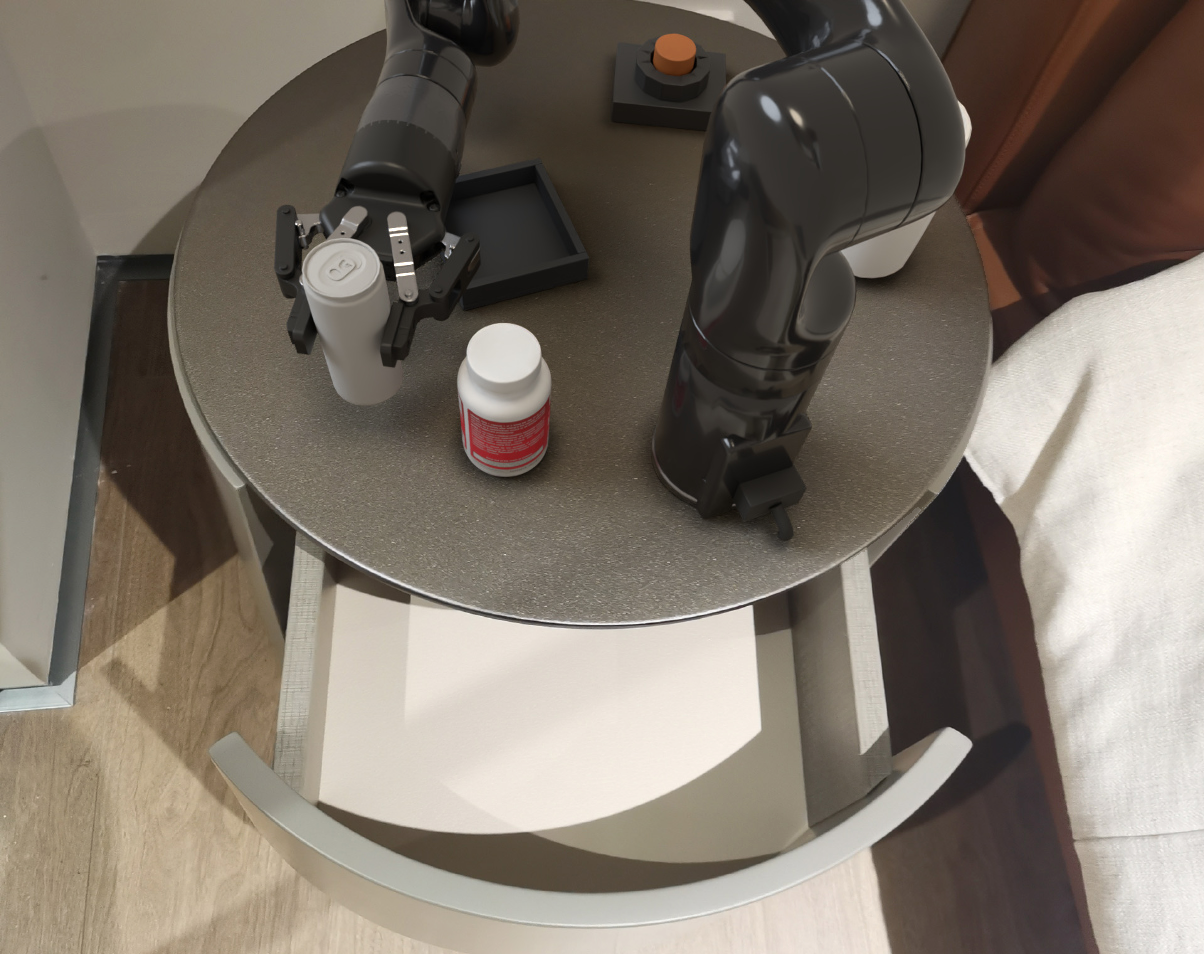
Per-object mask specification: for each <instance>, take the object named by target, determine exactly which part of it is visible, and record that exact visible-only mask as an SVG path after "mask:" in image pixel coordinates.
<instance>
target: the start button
mask: <svg viewBox="0 0 1204 954" xmlns="http://www.w3.org/2000/svg"><path fill="white" fill-rule="evenodd" d="M663 35H664V36H663ZM663 35H661V36H662V37H660V38H659V39H658V40H657V41H656V44H655V51H654V57H653V64H654V67H655V68H656V70H658V71H660V72H662V73H664V74H666V75H671V76H683V75H686V74H689V73H690V72H691V71H692V69H693V65H694V60H695V55H696V46H695V44H694V42H695V41H693V40H692V39H691V38H689V37H687V36H686V35H683V34H679V33H667V34H663Z"/></svg>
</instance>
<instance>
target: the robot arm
mask: <svg viewBox="0 0 1204 954" xmlns="http://www.w3.org/2000/svg"><path fill="white" fill-rule="evenodd" d="M742 1H743V2H744V3H745V4H746V5H748V6H749V8H750V9H751V10H752V11H753V12H754V14H755V15H757V17H758V18H759V19H760V20H761V21H762V23H763V24H764V25H765V27H766V28H767V30H768V31H769V32H770V34H771V35H772V37H773V38H774V39H775V41H776V42H777V44H778V45H779V47H780V48H781V50H782V52H783V54H784V55H785V57H782V58H779V59H776V60H773V61H769V62H765V63H763V64H760V65H756V66H754V67H751V68H748V69H746V70H743V71H741V72H739V73H737V74H736V75H734V77H732V78H731V79H730V80H729V81H728V82H726V86H725V87H724V88H723V90H722V91H721V93H720V94H719V96H718V98H717V100H716V102H715V104H714V107H713V109H712V112H711V115H710V118H709V121H708V125H707V129H706V131H705V133H704V139H703V145H702V151H701V157H700V165H699V172H698V178H697V186H696V191H695V192H696V193H695V198H694V205H693V212H692V219H691V223H690V230H689V231H690V232H689V259H690V271H691V272H690V273H691V282H690V285H689V289H688V292H687V293H688V294H687V298H686V302H685V306H684V309H683V314H682V318H681V322H680V326H679V330H678V334H677V338H676V342H675V346H674V351H673V355H672V359H671V362H670V363H671V364H670V367H669V372H668V376H667V380H666V384H665V388H664V393H663V396H662V401H661V404H660V409H659V413H658V418H657V422H656V424H655V427H654V429H653V433H652V437H651V443H650V457H651V458H650V459H651V463H652V465H653V468H654V471H655V473H656V475H657V477H658V478H659V480H660V481H661V483H662V484H663V486H665V488H666V489H667V490H668V491H669V492H670V493H672V494H673V495H674V496H675V497H677V498H678V499H679V500H681V501H683V502H684V503H686V504H688V505H691V506H693V507H694V508H695V509H696V511H697V512H698V514H699V516H700V518H701V519H703V520H707V519H710V518H712V517H717V516H719V515H722V514H725V513H727V512H732V511H735V510H737V511H738V513H739V515H740V517H741V519H742V521H743V522H744V523H745V522H748V521H751V520H754V519H756V518H760V517H763V516H766V515H768V514H771V516H772V518H773V520H774V523H775V524H776V526H777V529H778V531H777V533H776V535H777V538H778V539H779V540H780V541H782V542H789V541H791V540H793V538H794V536H795V531H794V527H793V523H792V521H791V519H790V516H789V515H788V513H787V511H786V509H787V508H790V507H793V506H794V505H798V504H799V503H800V501H801V499H802V497H803V496H804V494H805V492H806V490H807V486H806V484H805V482H804V480H803V479H802V477H801V475H800V473H799V471H798V469H797V468H796V466H795V462H796V460H797V458H798V456H799V454H800V452H801V451H802V448H803V446H804V445H805V442H806V440H807V438H808V437H809V434H810V432H811V431H812V428H813V423H812V421H811V420H810V418H809V416H808V414H807V413H806V412H807V410H808V408H809V406H810V404H811V401H812V400H813V397H814V395H815V394H816V392H817V389H818V387H819V385H820V384H821V381H822V379H823V377H824V375H825V373H826V370H827V369H828V367H829V365H830V363H831V362H832V361H831V360H832V359H833V357H834V355H835V353H836V350H837V349H838V346H839V344H840V342H841V340H842V338H843V336H844V334H845V332H846V330H847V327H848V326H849V323H850V321H851V319H852V316H853V314H854V311H855V307H856V303H857V302H856V301H857V282H856V276H855V275H854V274H853V271H852V269H851V266H850V264H849V262H848V261H847V259H846V257H845V256H844V255H843V254H842V252H841V250H844V249H846V248H849V247H852V246H854V245H857V244H859V243H862V242H865V241H867V240H870V239H872V238H875V237H878V236H880V235H883V234H885V233H888V232H890V231H893V230H895V229H898V228H901V227H903V226H905V225H908V224H910V223H913V222H915V221H918V220H920V219H922V218H924V217H926V216H928V215H930V214H931V213H933V212H935V211H936V212H937V211H939V210H940V209H941V208H942V207H944V205H946V204H947V202H949V200H951V198H952V197H953V195H954V194H955V192H956V190H957V188H958V186H959V184H960V182H961V180H962V177H963V173H964V167H965V161H966V155H967V153H966V149H965V130H964V123H963V118H962V114H961V110H960V107H959V104H958V101H959V99H958V97H957V94H956V92H955V90H954V87H953V84H952V82H951V80H950V77H949V75H948V73H947V71H946V69H945V67H944V65H943V63H942V61H941V59H940V58H939V56H938V54H937V52H936V51H935V49H934V47H933V46H932V44H931V42H930V41H929V39H928V37H927V36H926V35H925V33H924V31H923V30H922V29H921V27H920V26H919V24H918V23H917V21H916V19H915V18H914V17H913V16H912V13H911V12H910V11H909V9H908V8H907V6H906V5H905V4H904V2H903V0H742ZM383 6H384V19H385V30H386V48H385V55H384V61H383V64H382V67H381V70H380V74H379V77H378V79H377V82H376V84H375V88H374V91H373V93H372V95H371V98H369V101H368V102H367V104H366V106H365V107H364V109H363V111H362V113H361V116H360V118H359V121H358V124H357V127H356V128H355V129H356V130H355V133H354V135H353V138H352V140H351V143H350V146H349V148H348V152H347V153H346V154H347V155H346V157H345V160H344V163H343V165H342V168H341V171H340V173H339V177H338V179H337V183H336V186H335V190H334V193H333V196H332V198H331V200H330V201H328V203H326V204H325V205H324V206H323V207H322V208H321V210H319V212H318V213H315V212H314V213H297V210H296V208H295V206H293V205H291V204H282V205H280V206H279V207H278V208H277V210H276V222H275V224H276V225H275V240H274V241H275V242H274V260H273V261H274V263H273V266H274V267H273V269H274V273H275V276H276V279H277V281H278V284H279V288H280V291H281V294H282V296H283V297H284V298H286V299H289V300H290V299H291V300H292V299H294V302H293V305H292V307H291V309H290V312H289V315H288V318H287V322H286V324H285V325H286V331H287V334H288V337H289V340H290V342H291V345H294V348H295V350H296V353H297V354H298V355H299V354H300V355H306V356H310V355H311V354H312V351H313V348H314V345H315V342H316V338H317V337H318V332H317V329H316V326H315V322H314V319H313V316H312V313H311V309H310V306H309V303H308V300H307V296H306V293H305V290H304V286H303V280H302V276H303V273H302V267H303V250H304V251H306V250H308V249H309V248H310V245H311V244H312V242H313V240H314V237H315V236H316V235H318V234H322V235H323V237H324V238H325V240H324V242H326V241H329V240H332V239H338V238H351V239H355V240H359V241H361V242H363V243H365V244H367V245H369V246H370V247H371V248H372V249H373V250H374V251H375V252H376V254H377V255H378V257H379V260H380V262H381V263H382V265H383V269H384V274H385V279H386V282H393V283H396V284H397V291H398V296H399V297H398V300H397V301H392V304H391V310H390V314H389V317H388V321H387V324H386V327H385V331H384V334H383V338H382V341H381V345H380V355H381V359H382V364H383V366H385V367H392V368H395V366H396V363H397V360H401V362H402V361H405V360H406V359H407V358H408V356H409V355H410V350H411V348H412V344H413V340H414V336H415V332H416V329H417V326H418V324H419V323H420V322H421V321H422V320H424V319H430V318H433V319H434V320H435V321H437V322H444V321H447V320H448V319H449V318H450V317H451V315H452V314H453V312H454V311H455V309H456V307H457V305H458V303H460V301H459V300H460V299H461V297H462V295H463V294H464V292H465V290H466V289H467V287H468V285H469V284H470V282H471V280H472V279H473V277H474V275H475V274H476V272H477V270H478V269H479V267H480V265H481V258H480V256H481V254H480V240H479V236H478V235H477V234H476V233H474V232H467V233H465V234H463V235H462V237H459V236H456V235H454V234H451V233H448V232H446V230H445V226H444V222H445V218H446V215H447V211H448V207H449V204H450V200H451V197H452V193H453V189H454V186H455V182H456V179H457V178H458V176H460V173H461V168H462V160H463V155H464V150H465V143H466V142H465V140H466V132H467V129H468V125H469V122H470V119H471V116H472V111H473V109H474V108H473V107H474V104H475V100H476V96H477V92H478V83H479V81H478V79H479V78H478V73H477V72H478V71H477V69H476V67H481V68H493V67H496V66H498V65H500V64H501V63H503V62H504V61H505V60H507V58H508V57H509V56H510V55H511V54H512V52H513V50H514V48H515V47H516V44H517V42H518V41H517V40H518V37H519V33H520V21H521V19H520V7H519V6H520V5H519V1H518V0H384V5H383ZM936 212H935V213H936ZM442 251H443V252H444V254H445V264H444V263H443V265H442V267H441V269H440V271H438V273H437V275H436V277H435V278H434V280H433V281H432V283H431V284H430V286H429V288H425V289H418V284H417V277H416V272H415V271H417V270H418V269H420V268H421V267H423V266H424V265H425V264H426V263H428V262H429V261H431V260H433V259H434V258H435V257H437V256H438V255H440V253H441V252H442Z"/></svg>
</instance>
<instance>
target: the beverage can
mask: <svg viewBox="0 0 1204 954" xmlns="http://www.w3.org/2000/svg"><path fill="white" fill-rule="evenodd" d="M325 241H326V240H325ZM325 241H324V242H321V243H318V244H317V245H316V246H315V247H313V248H312V249H311V250H310V251H309V252H308V253H307V255H306V256H305V258H304V260H303V261H302V273H303V276H302V280H303V286H304V290H305V293H306V296H307V300H308V303H309V306H310V309H311V313H312V316H313V319H314V322H315V326H316V329H317V332H318V333H317V336H318V339H319V342H320V345H321V349H322V351H323V355H324V358H325V362H326V365H327V369H328V371H329V375H330V378H331V381H332V385H333V387H334V390H335V391H336V394H338V395H339V396H340V397H341V398H342V399H343V400H344V401H346V402H348V403H350V404H351V405H352V404H353V405H358V406H372V405H378V404H380V403H382V402H385V401H387V400H389V399H391V398H392V397H394V396H395V395H396V393H397V392H398V391H399V390H400V389H401V386H402V384H403V383H404V382H403V381H404V369H403V364H402V360H397V363H396V366H395V368H392V367H385V366H383V364H382V359H381V355H380V345H381V341H382V338H383V334H384V331H385V327H386V324H387V321H388V317H389V314H390V310H391V307H392V304H391V300H390V295H389V289H388V285H387V281H386V279H385V274H384V269H383V265H382V263H381V262H380V260H379V257H378V255H377V254H376V252H375V251H374V250H373V249H372V248H371V247H370V246H369V245H367V244H365V243H363V242H361V241H359V240H355V239H351V238H338V239H332V240H329V241H326V242H325Z"/></svg>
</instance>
